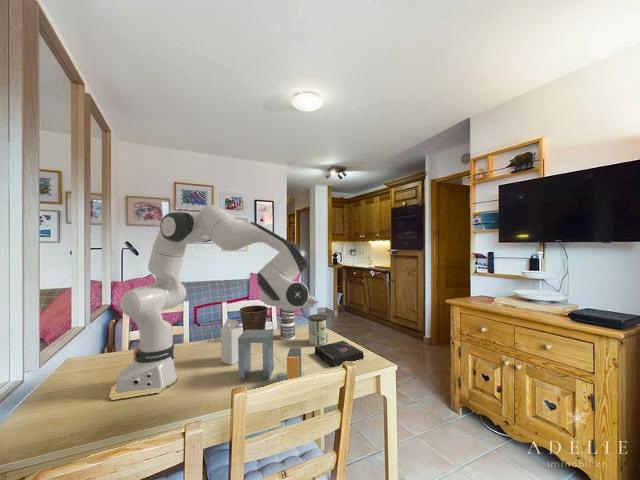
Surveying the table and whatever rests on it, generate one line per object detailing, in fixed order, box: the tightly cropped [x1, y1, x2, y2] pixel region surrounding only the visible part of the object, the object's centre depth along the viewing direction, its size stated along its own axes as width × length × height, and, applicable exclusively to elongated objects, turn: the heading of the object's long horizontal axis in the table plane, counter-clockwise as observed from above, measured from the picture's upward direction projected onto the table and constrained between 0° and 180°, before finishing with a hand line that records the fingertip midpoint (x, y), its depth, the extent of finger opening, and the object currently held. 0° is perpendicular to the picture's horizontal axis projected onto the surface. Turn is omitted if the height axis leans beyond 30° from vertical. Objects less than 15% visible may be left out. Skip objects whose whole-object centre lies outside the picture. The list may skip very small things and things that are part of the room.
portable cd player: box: [314, 340, 365, 368], centre depth 135 cm, size 16×17×4 cm
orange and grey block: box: [286, 347, 302, 380], centre depth 113 cm, size 14×4×11 cm, turn 179°
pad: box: [278, 370, 307, 382], centre depth 113 cm, size 10×10×1 cm
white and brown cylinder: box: [278, 308, 296, 341], centre depth 162 cm, size 9×9×25 cm
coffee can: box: [308, 313, 329, 347], centre depth 153 cm, size 10×10×14 cm
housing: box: [237, 329, 274, 382], centre depth 118 cm, size 10×12×17 cm
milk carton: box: [220, 318, 243, 366], centre depth 131 cm, size 7×7×19 cm
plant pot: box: [239, 304, 269, 332], centre depth 165 cm, size 16×16×16 cm
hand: (285, 300), depth 112 cm, fingers open, 8 cm apart
